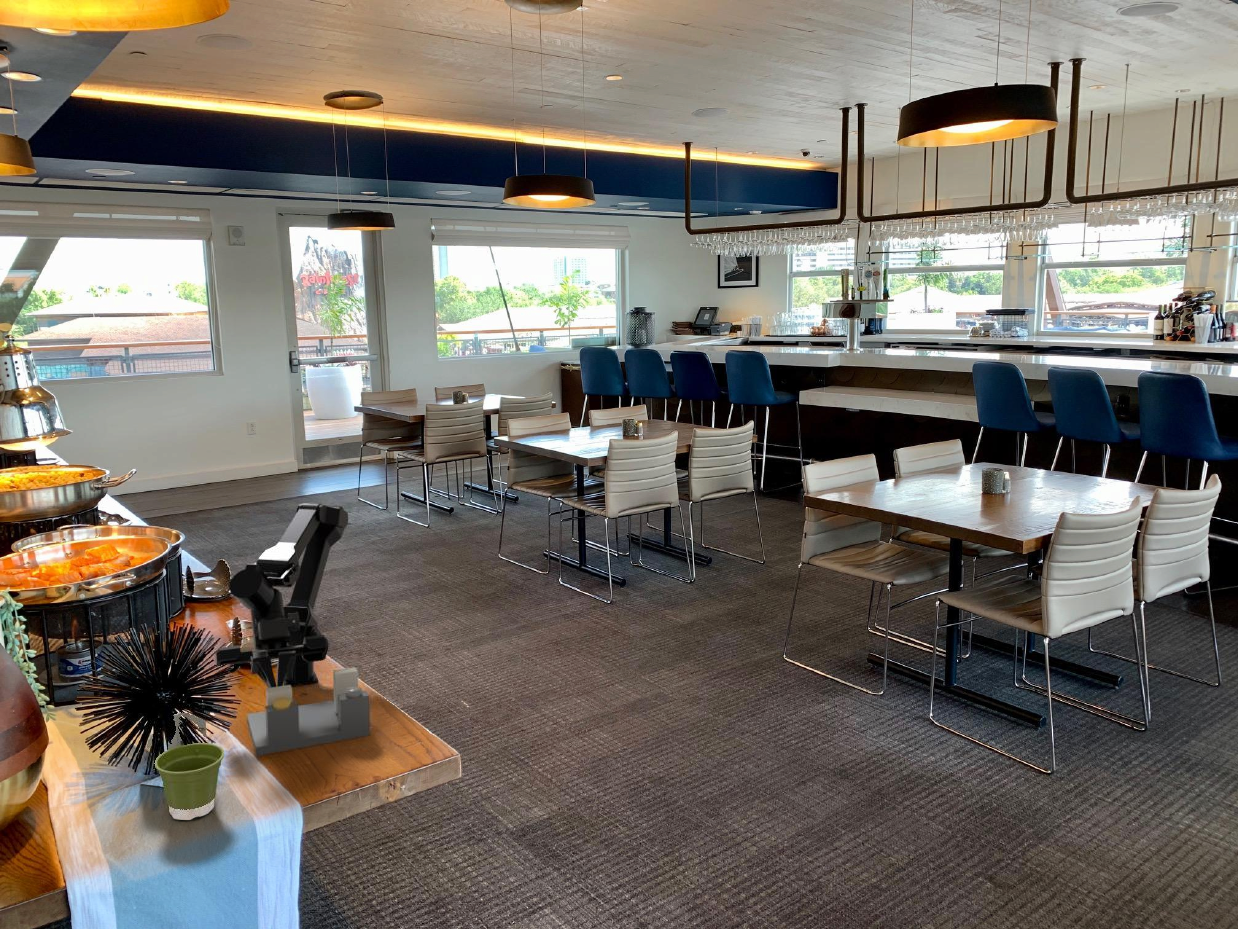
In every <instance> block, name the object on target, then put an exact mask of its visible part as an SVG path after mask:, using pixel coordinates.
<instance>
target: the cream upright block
mask: <svg viewBox="0 0 1238 929" xmlns="http://www.w3.org/2000/svg"><path fill="white" fill-rule="evenodd" d="M332 674H333V680H332V681H333V700H334V710H335V712H336V714H338V695H339V694H345V690H346V689H347V688H349V687H359V671H358V669H357V667H355V666H354V667H349V668H348V667H347V668H341V669H334V670H333V672H332Z"/></svg>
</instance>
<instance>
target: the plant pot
mask: <svg viewBox="0 0 1238 929" xmlns="http://www.w3.org/2000/svg"><path fill="white" fill-rule="evenodd" d="M224 757H225V749H224V748H223V747H222V746H219V745H218V744H213V743H208V742H207V743H193V744H187V745H182V746H178V747H175V748H172V749H169V750H167V751H165V752H163V753H162V754H160V755H159V756H158V757H157V758H156V760H155V763H154V764H155V768H156V769H157V770H158V771H159V774H160V776H161V778H162V781H163V786H164V788H163V790H164V794H165V800H166V803H167V804H168V805H169V806H170V807H172V808H174V809H180V810H181V809H182V810H183V809H184V810H187V809H189V810H190V809H195V808H199V807H202V806H204V805H206V804H208V803H210V802H211V801H212V800H213V799H214V798H215V799H216V795H217V788H218V779H219V771H220V768H221V765H222V761H223V759H224ZM168 805H167V806H168Z"/></svg>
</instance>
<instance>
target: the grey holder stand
mask: <svg viewBox="0 0 1238 929" xmlns="http://www.w3.org/2000/svg"><path fill="white" fill-rule="evenodd" d="M370 714H371V711H370V694H369V692H368V691H367V690H365V689H364V690H362V687H360V686H358V687H349V688H347V689H346V690H345V694H339V695H338V714H336V712H335V710H334V699H332V700H328V701H325V700H324V701H320V702H314V703H308V704H301V705H298V703H297V701H292V702H291V700H290V699H289V698H278V699H276V700H274V701H273V705H270V706H267V705H266V706H265V711H258V712H252V713H246V723H248V724H247V727H248V731H249V734H250V738H251V742H252V745H253V750H254V752H255V756H256V757H257V756H262V755H263V756H264V755H268V754H274V753H279V752H284V751H285V752H286V751H290V750H295V749H302V748H307V747H312V746H318V745H323V744H327V743H334V742H340V741H344V740H350V739H351V740H352V739H355V738H361V737H367V736H370V735H371V727H370V726H371V717H370V716H371V715H370Z"/></svg>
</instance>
